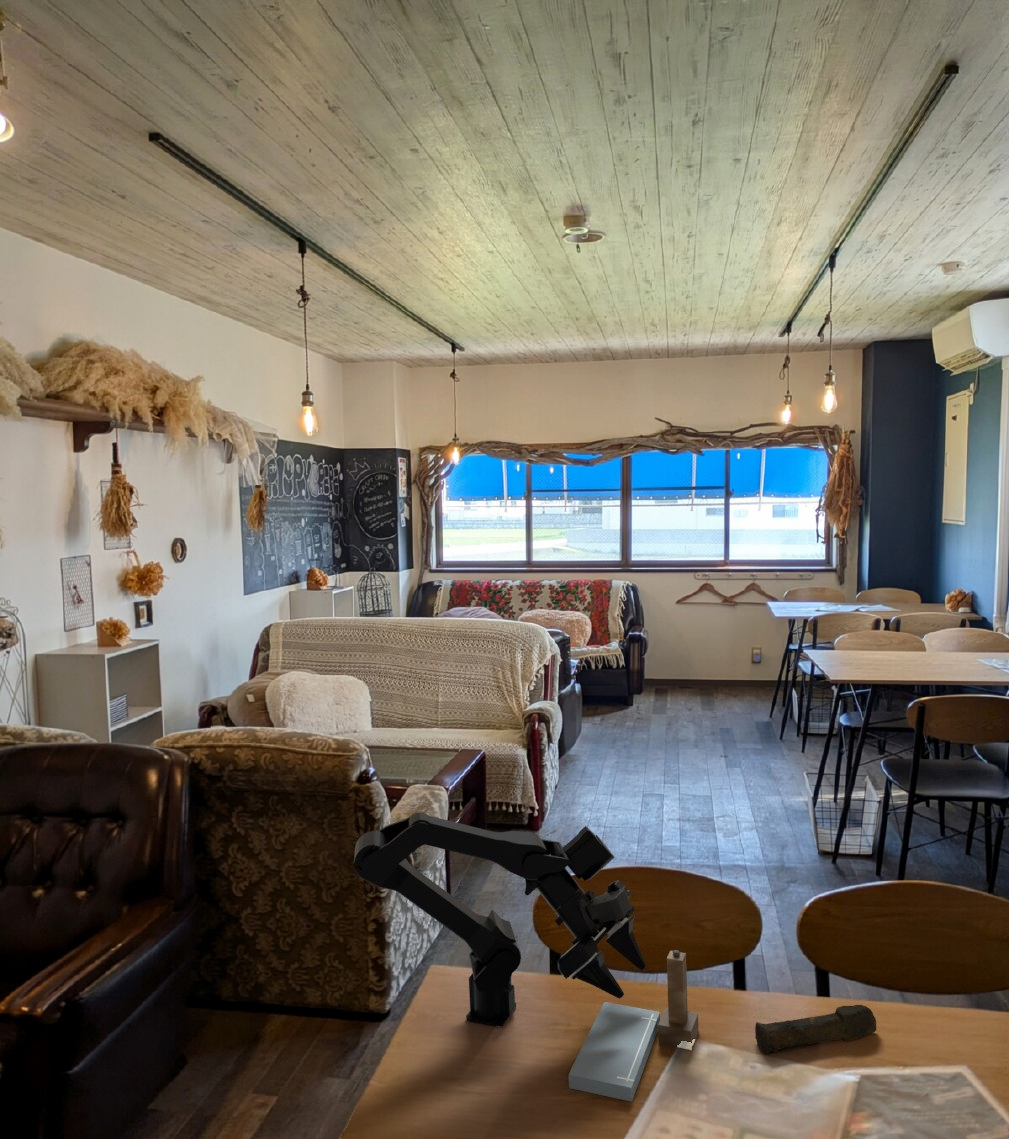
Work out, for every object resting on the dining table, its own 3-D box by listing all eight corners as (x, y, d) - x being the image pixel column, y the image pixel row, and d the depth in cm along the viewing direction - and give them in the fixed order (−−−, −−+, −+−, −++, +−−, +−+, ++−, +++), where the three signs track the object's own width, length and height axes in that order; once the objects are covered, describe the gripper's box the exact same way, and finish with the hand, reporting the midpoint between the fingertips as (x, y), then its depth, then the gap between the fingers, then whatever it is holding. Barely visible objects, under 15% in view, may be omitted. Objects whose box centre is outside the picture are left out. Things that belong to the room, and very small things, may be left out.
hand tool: (764, 1059, 128) (764, 1029, 127) (753, 1043, 132) (753, 1013, 131) (885, 1044, 130) (885, 1014, 130) (871, 1029, 134) (870, 1000, 134)
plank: (569, 1087, 123) (568, 1073, 123) (604, 1013, 140) (604, 1001, 140) (631, 1101, 119) (631, 1087, 119) (660, 1024, 137) (659, 1011, 137)
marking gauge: (658, 1043, 132) (656, 956, 131) (666, 1025, 137) (664, 941, 136) (691, 1050, 130) (689, 962, 129) (698, 1031, 135) (696, 946, 134)
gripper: (573, 895, 130) (645, 984, 125) (622, 851, 146) (687, 929, 141) (529, 934, 134) (596, 1023, 129) (580, 887, 150) (642, 964, 145)
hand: (633, 982), depth 136 cm, fingers open, 9 cm apart
